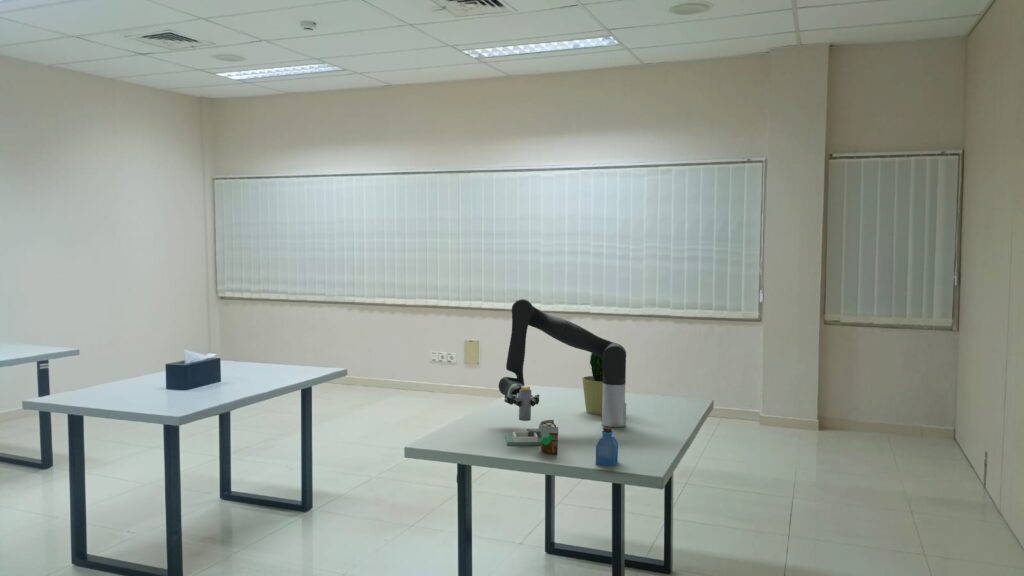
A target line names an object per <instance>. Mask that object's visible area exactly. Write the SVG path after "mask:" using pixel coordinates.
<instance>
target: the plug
mask: <svg viewBox="0 0 1024 576" xmlns="http://www.w3.org/2000/svg"><path fill="white" fill-rule="evenodd" d="M531 395H532V389H531V386H527V385H524V386H522V387H521V389H520V394H519V399H520V400H521V407H519V406H518V420H519V421H522V422H529V421H531V420H532V419H531V418H532V406H531Z"/></svg>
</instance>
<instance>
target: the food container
mask: <svg viewBox="0 0 1024 576" xmlns="http://www.w3.org/2000/svg"><path fill="white" fill-rule="evenodd" d="M554 420H555V419H545V420H542V421H540V423H539V424H538V429H539V430H540V432H541V445H540V448H541V452H542V453H543V454H547V455H552V456H553V455H554V456H557V455H558V446H559V427H558V426H557V424H555V422H554Z"/></svg>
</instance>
